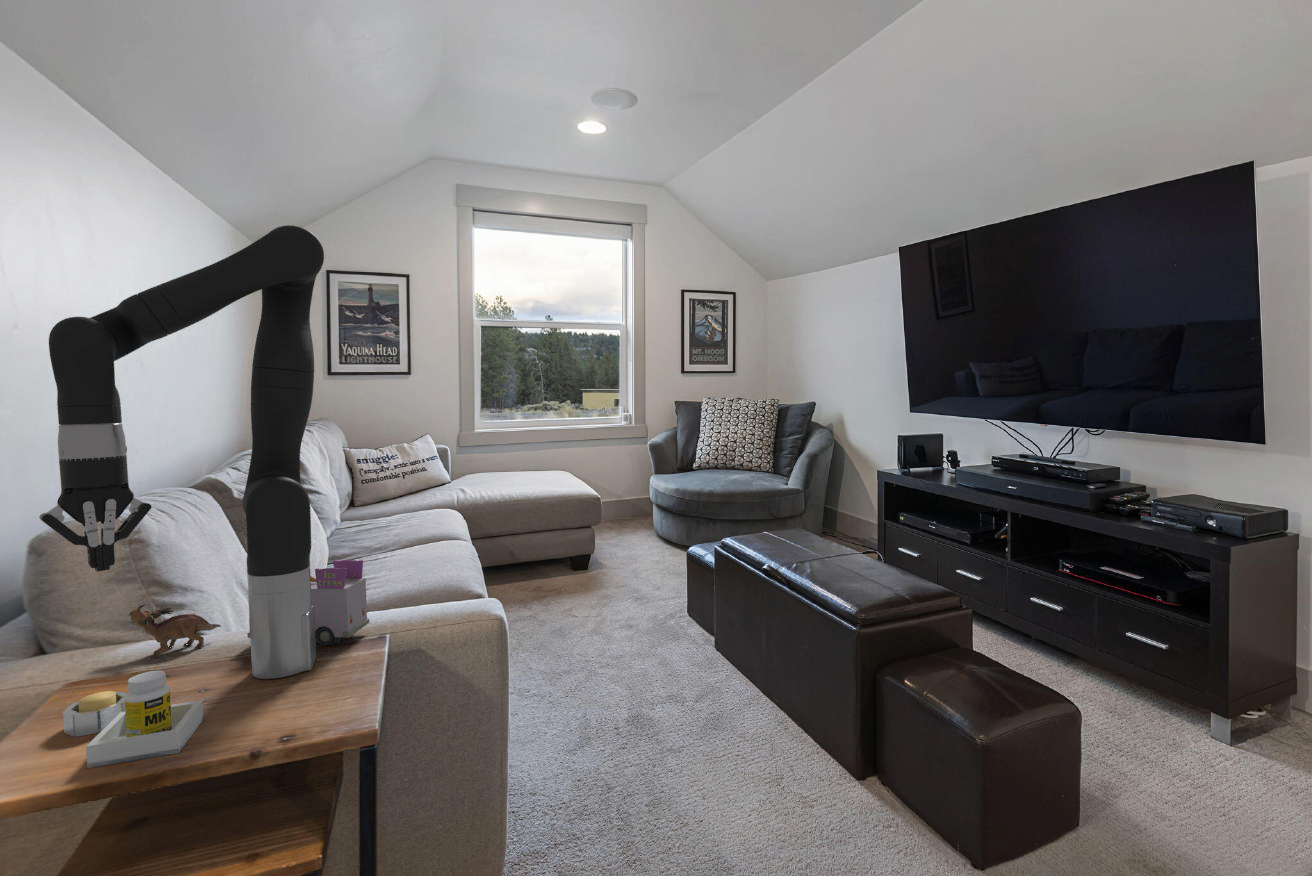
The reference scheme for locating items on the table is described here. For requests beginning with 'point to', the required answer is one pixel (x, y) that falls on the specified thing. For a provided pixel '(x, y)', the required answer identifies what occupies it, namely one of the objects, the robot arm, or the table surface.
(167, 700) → the supplement bottle
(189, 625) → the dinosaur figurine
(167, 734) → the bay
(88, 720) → the socket
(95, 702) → the yellow rounded lump
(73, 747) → the table surface
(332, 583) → the toy vehicle
